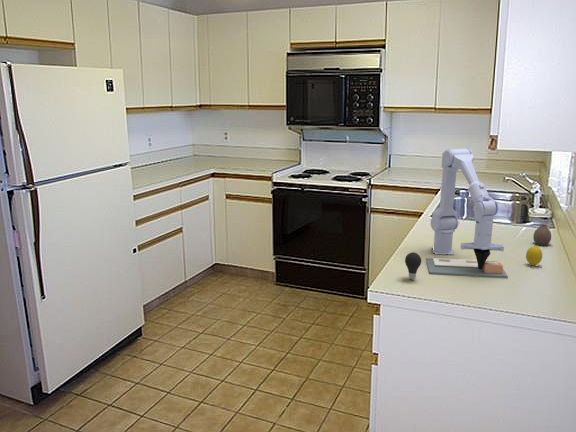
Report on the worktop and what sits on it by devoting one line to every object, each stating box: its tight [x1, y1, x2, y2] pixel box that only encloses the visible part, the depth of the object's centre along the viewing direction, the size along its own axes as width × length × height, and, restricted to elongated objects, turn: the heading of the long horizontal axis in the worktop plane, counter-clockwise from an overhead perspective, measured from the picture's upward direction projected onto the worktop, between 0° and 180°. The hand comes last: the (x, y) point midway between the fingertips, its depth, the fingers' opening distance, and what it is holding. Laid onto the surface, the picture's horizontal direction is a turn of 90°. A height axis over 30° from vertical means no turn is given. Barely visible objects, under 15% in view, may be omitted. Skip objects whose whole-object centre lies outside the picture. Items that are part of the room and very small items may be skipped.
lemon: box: [525, 245, 543, 267], centre depth 191 cm, size 6×6×8 cm
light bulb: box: [404, 252, 422, 280], centre depth 178 cm, size 6×6×10 cm
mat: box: [425, 257, 509, 279], centre depth 189 cm, size 16×27×1 cm, turn 80°
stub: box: [483, 260, 504, 274], centre depth 184 cm, size 4×6×3 cm, turn 79°
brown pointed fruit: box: [532, 223, 552, 247], centre depth 217 cm, size 7×7×9 cm
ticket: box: [433, 257, 478, 269], centre depth 192 cm, size 8×18×1 cm, turn 79°
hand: (480, 268), depth 185 cm, fingers closed
